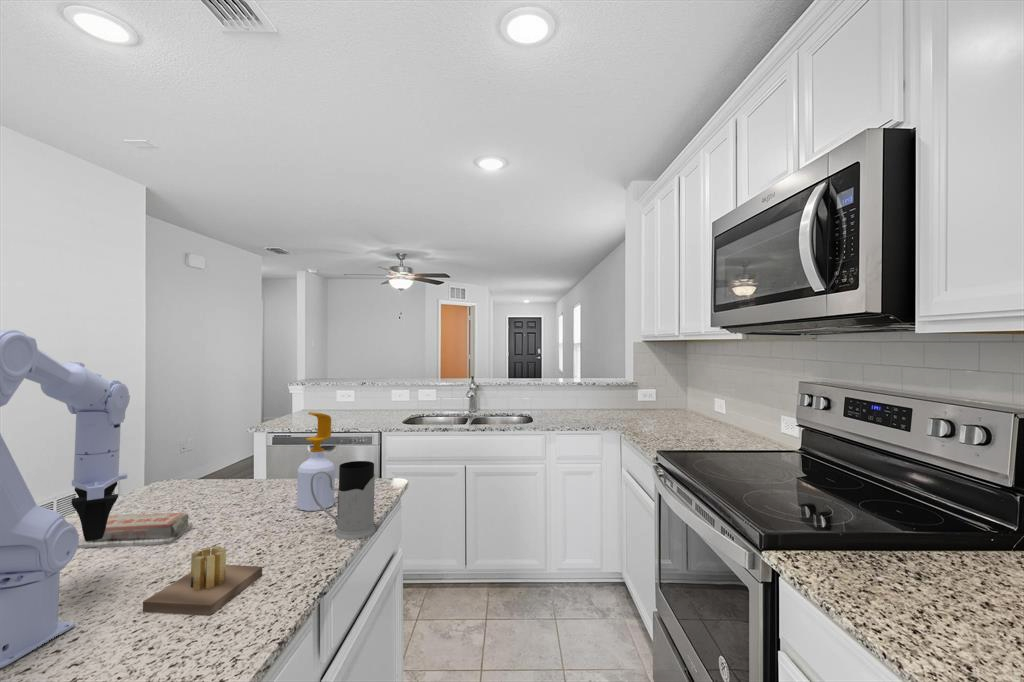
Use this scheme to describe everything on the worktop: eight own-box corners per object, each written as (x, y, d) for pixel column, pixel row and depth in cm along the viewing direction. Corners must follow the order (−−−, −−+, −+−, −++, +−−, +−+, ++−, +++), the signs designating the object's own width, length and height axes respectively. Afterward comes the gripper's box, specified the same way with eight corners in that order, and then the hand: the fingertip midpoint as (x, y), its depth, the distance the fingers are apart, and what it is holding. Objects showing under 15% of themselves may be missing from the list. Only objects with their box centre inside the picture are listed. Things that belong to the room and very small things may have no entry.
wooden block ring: (227, 583, 78) (228, 553, 78) (194, 592, 75) (195, 561, 75) (221, 572, 81) (222, 543, 82) (189, 581, 78) (190, 551, 78)
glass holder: (372, 538, 101) (374, 468, 102) (303, 541, 99) (305, 470, 100) (378, 523, 110) (379, 459, 110) (314, 526, 108) (316, 461, 108)
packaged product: (195, 507, 107) (170, 523, 97) (194, 529, 106) (169, 547, 97) (107, 510, 104) (72, 527, 94) (106, 532, 104) (71, 551, 94)
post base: (210, 615, 71) (211, 581, 71) (142, 611, 72) (143, 578, 72) (262, 575, 84) (262, 546, 84) (204, 572, 85) (204, 544, 85)
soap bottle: (288, 509, 119) (291, 413, 120) (313, 499, 128) (315, 409, 128) (317, 513, 116) (320, 414, 117) (341, 502, 125) (343, 410, 126)
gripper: (129, 455, 76) (126, 539, 76) (126, 442, 87) (124, 515, 87) (70, 461, 71) (66, 551, 71) (75, 446, 82) (71, 524, 82)
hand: (94, 532), depth 79 cm, fingers open, 7 cm apart
